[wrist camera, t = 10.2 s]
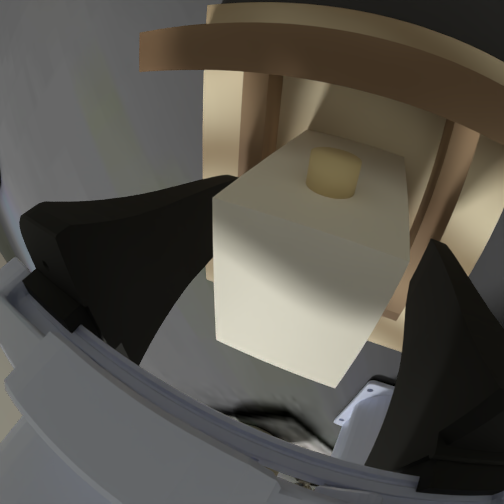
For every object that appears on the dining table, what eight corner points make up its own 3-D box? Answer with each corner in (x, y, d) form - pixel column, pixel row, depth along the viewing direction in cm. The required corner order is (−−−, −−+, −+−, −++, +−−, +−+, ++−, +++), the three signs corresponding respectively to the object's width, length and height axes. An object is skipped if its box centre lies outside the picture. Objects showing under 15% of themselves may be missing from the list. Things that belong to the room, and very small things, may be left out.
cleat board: (413, 342, 16) (403, 412, 12) (214, 270, 20) (170, 320, 16) (530, 82, 6) (593, 97, 2) (219, 8, 10) (141, -5, 6)
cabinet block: (370, 257, 13) (335, 388, 8) (291, 230, 14) (216, 340, 9) (408, 138, 9) (426, 225, 4) (310, 111, 10) (212, 161, 5)
